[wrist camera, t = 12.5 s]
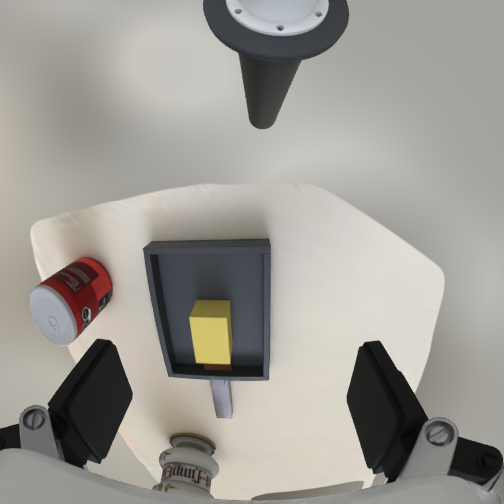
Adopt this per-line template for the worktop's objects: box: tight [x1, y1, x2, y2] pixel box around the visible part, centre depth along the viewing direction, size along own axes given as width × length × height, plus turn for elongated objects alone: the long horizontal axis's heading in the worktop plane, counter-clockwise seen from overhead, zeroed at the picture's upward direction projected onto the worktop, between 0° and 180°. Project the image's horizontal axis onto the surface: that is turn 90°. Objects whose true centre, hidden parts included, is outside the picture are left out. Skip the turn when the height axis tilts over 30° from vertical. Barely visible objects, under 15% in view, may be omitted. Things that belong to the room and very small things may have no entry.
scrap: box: [203, 355, 232, 371], centre depth 37 cm, size 4×4×1 cm
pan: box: [143, 239, 271, 381], centre depth 35 cm, size 20×15×3 cm
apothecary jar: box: [152, 433, 219, 499], centre depth 38 cm, size 12×12×18 cm
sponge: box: [189, 300, 233, 364], centre depth 34 cm, size 7×4×4 cm, turn 1°
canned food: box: [29, 258, 112, 346], centre depth 30 cm, size 8×8×11 cm
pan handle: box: [210, 380, 233, 418], centre depth 39 cm, size 11×3×3 cm, turn 1°
